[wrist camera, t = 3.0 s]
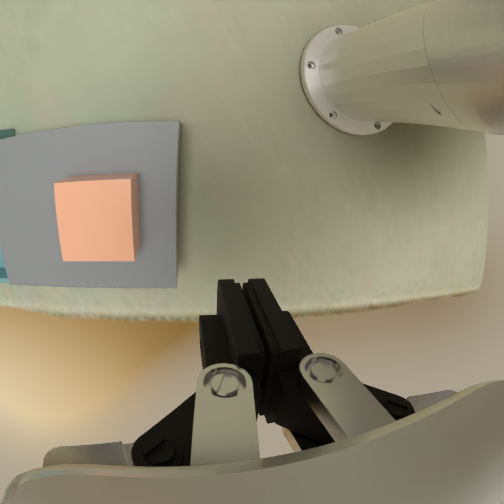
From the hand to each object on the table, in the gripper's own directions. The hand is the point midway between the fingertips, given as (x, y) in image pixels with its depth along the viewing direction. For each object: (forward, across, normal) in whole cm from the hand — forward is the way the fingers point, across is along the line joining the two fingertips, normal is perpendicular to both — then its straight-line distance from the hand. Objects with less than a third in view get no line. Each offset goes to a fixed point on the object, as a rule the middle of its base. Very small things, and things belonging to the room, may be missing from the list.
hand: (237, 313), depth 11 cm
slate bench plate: (+19, +12, 0) cm, 22 cm away
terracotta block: (+14, +9, 0) cm, 16 cm away
